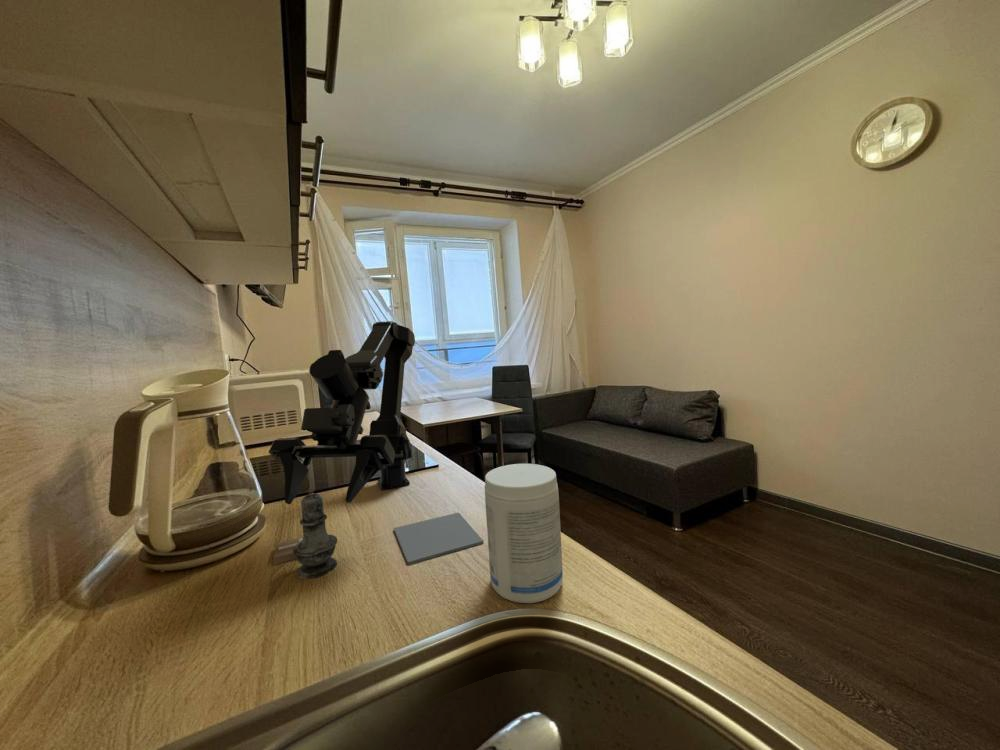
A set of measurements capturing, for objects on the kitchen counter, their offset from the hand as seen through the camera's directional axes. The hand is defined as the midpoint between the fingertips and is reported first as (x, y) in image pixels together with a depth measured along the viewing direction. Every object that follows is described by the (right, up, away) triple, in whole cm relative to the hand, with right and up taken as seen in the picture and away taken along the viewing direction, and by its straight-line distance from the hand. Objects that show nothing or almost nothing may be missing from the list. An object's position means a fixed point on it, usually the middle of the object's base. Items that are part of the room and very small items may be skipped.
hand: (317, 502), depth 56 cm
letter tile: (-6, -10, +4) cm, 12 cm away
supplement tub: (+31, -9, -6) cm, 32 cm away
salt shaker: (0, -10, -1) cm, 10 cm away
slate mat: (+17, -8, +7) cm, 20 cm away
